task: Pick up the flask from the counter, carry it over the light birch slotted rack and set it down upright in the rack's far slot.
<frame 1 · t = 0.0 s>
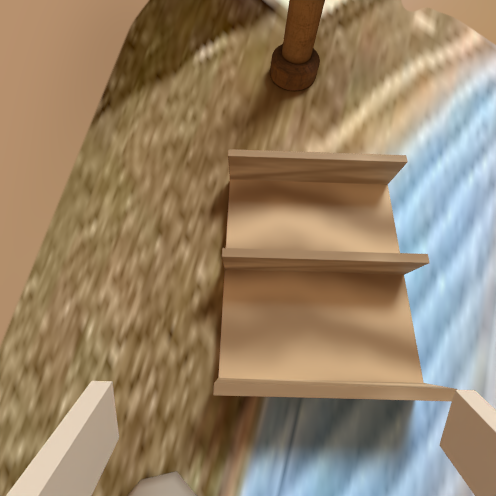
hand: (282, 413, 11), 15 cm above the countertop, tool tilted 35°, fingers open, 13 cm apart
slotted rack: (311, 271, 28), on the countertop
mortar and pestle: (292, 75, 39), on the countertop
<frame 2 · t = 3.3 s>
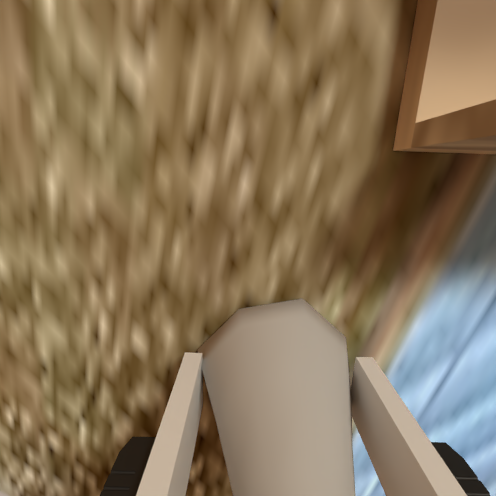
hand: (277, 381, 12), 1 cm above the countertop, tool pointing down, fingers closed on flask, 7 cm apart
flask: (274, 362, 13), on the countertop, touching gripper
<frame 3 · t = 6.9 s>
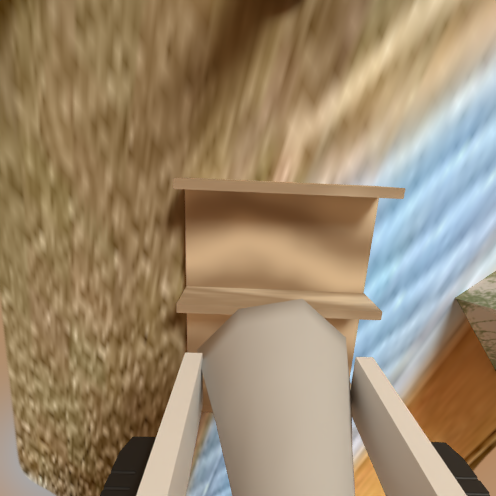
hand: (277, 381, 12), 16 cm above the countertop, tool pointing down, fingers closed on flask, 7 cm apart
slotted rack: (273, 288, 29), on the countertop
flask: (274, 362, 13), point 15 cm above the countertop, touching gripper
when the fingers open (4 cm above the countertop, at t = 10.4 s): flask drops 1 cm, resting on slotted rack.
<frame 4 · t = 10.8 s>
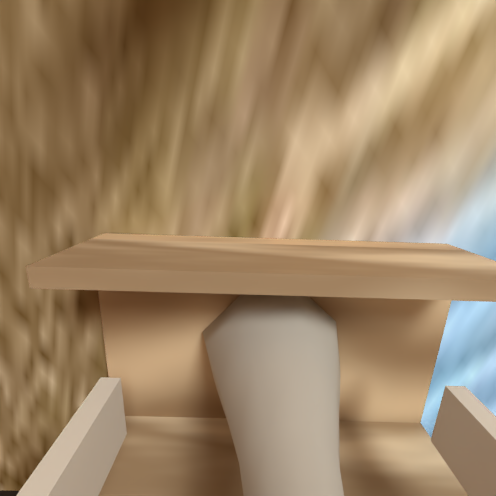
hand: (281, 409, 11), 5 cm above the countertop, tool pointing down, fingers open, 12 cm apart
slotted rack: (266, 407, 17), on the countertop
flask: (272, 344, 15), point 1 cm above the countertop, touching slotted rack
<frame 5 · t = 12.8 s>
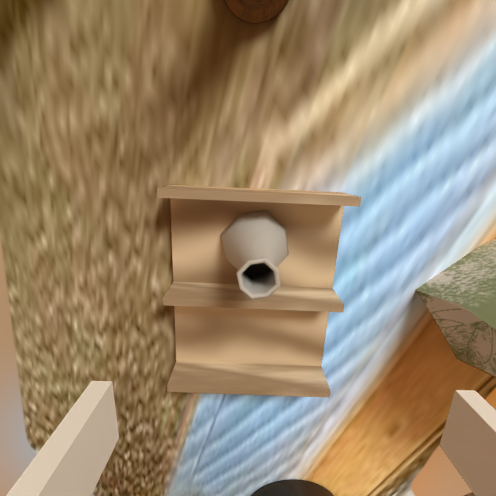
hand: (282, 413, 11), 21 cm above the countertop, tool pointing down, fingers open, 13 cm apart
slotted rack: (252, 283, 32), on the countertop
flask: (255, 243, 30), point 1 cm above the countertop, touching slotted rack
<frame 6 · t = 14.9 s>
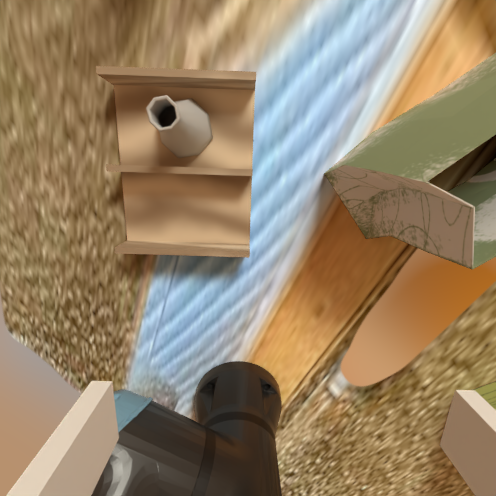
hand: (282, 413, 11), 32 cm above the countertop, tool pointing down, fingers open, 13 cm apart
grocery bag: (444, 140, 38), on the countertop
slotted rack: (188, 170, 39), on the countertop
flask: (185, 129, 36), point 1 cm above the countertop, touching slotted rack
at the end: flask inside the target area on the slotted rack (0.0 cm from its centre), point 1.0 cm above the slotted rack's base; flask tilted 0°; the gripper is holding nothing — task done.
